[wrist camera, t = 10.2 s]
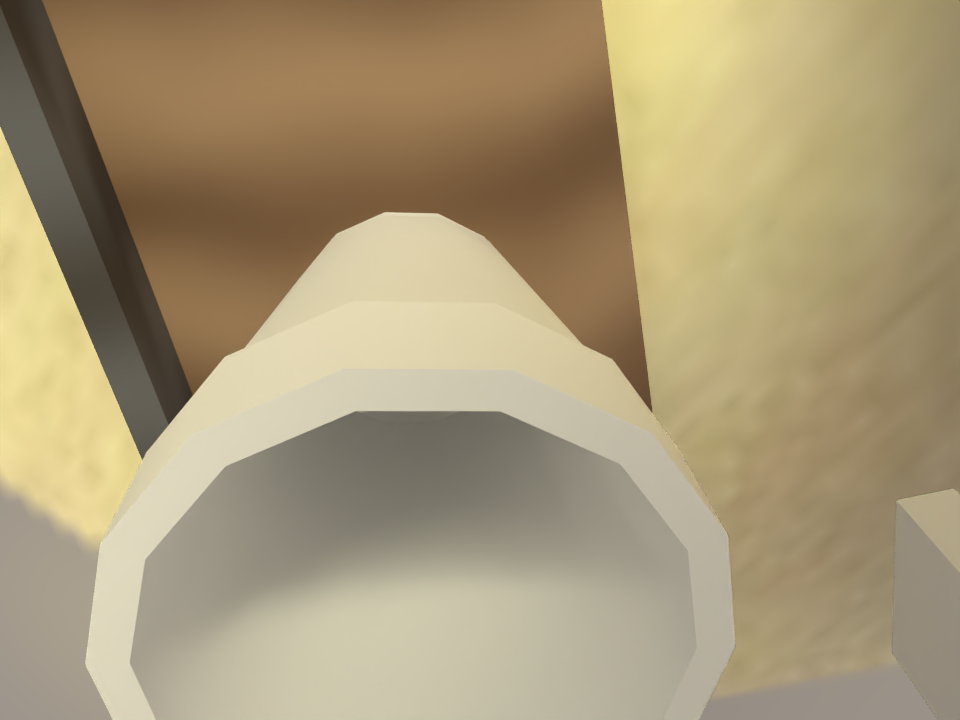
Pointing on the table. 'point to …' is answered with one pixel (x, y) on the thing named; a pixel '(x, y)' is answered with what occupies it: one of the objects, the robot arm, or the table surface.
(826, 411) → the table surface
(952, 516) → the robot arm
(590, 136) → the shelf board
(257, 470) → the foam cup
